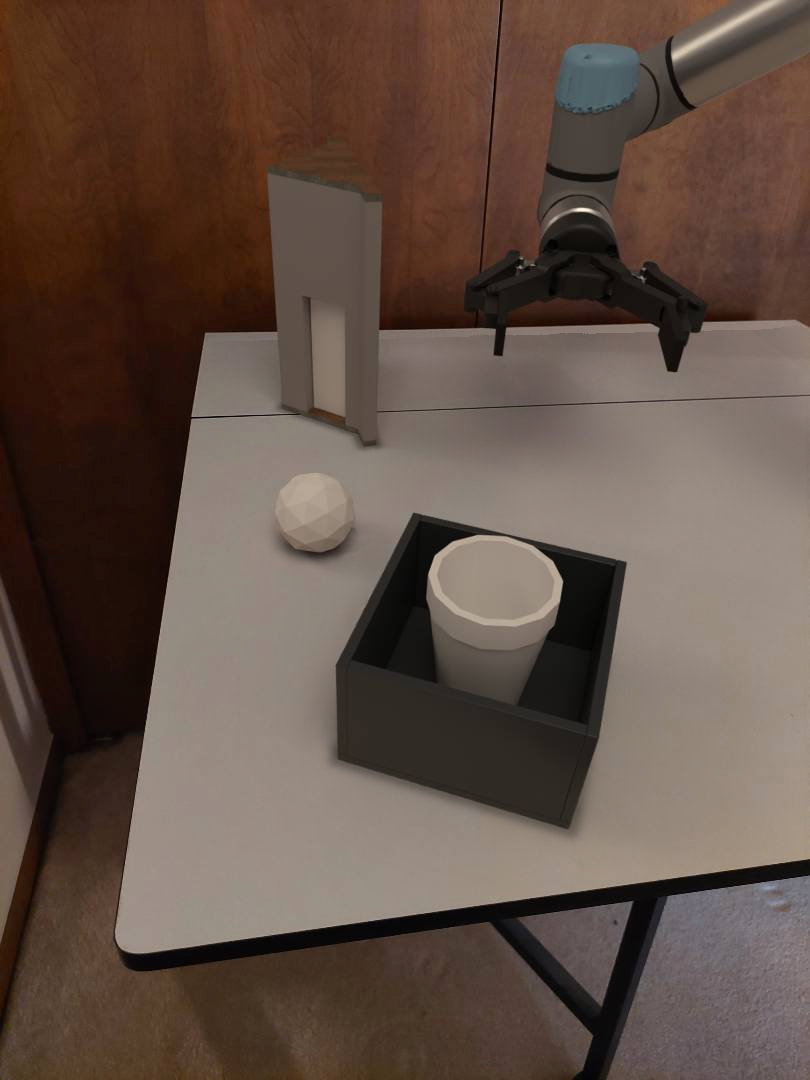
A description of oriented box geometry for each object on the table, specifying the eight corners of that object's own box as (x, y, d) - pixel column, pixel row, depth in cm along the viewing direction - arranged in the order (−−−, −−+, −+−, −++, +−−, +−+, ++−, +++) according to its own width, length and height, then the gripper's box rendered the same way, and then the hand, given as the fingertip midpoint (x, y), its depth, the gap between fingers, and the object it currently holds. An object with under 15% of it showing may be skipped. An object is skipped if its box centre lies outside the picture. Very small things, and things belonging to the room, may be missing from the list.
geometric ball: (331, 552, 83) (377, 494, 80) (312, 581, 75) (362, 518, 72) (272, 507, 82) (316, 447, 79) (247, 531, 74) (295, 466, 72)
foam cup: (450, 760, 60) (466, 642, 51) (400, 671, 66) (407, 553, 58) (557, 720, 63) (589, 603, 55) (500, 639, 69) (520, 523, 61)
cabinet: (376, 444, 93) (382, 194, 75) (293, 453, 91) (279, 197, 73) (342, 360, 108) (341, 135, 90) (271, 365, 106) (255, 137, 88)
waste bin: (599, 653, 70) (627, 561, 63) (568, 829, 57) (599, 738, 50) (407, 604, 73) (413, 512, 66) (337, 759, 60) (335, 665, 53)
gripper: (696, 297, 80) (737, 405, 64) (447, 276, 82) (425, 376, 65) (718, 220, 75) (768, 316, 59) (453, 200, 77) (430, 287, 61)
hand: (587, 348), depth 62 cm, fingers open, 13 cm apart
